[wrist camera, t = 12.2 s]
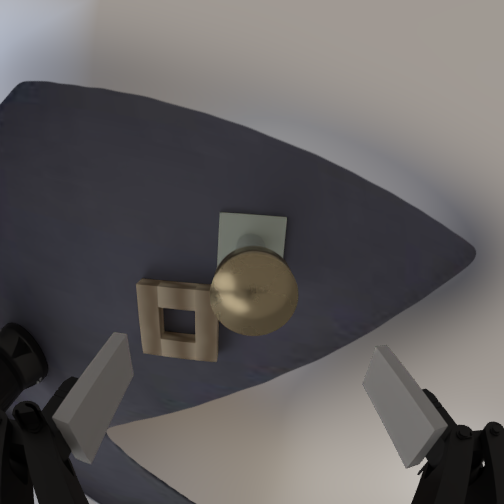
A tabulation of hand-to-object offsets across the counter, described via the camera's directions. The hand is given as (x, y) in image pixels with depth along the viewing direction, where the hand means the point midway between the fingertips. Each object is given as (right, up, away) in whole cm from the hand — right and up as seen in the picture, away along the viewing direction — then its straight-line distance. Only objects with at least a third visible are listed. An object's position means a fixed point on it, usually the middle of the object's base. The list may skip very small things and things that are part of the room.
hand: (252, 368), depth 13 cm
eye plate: (-11, -4, +28) cm, 31 cm away
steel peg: (0, +6, +25) cm, 26 cm away
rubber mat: (0, +7, +26) cm, 27 cm away
